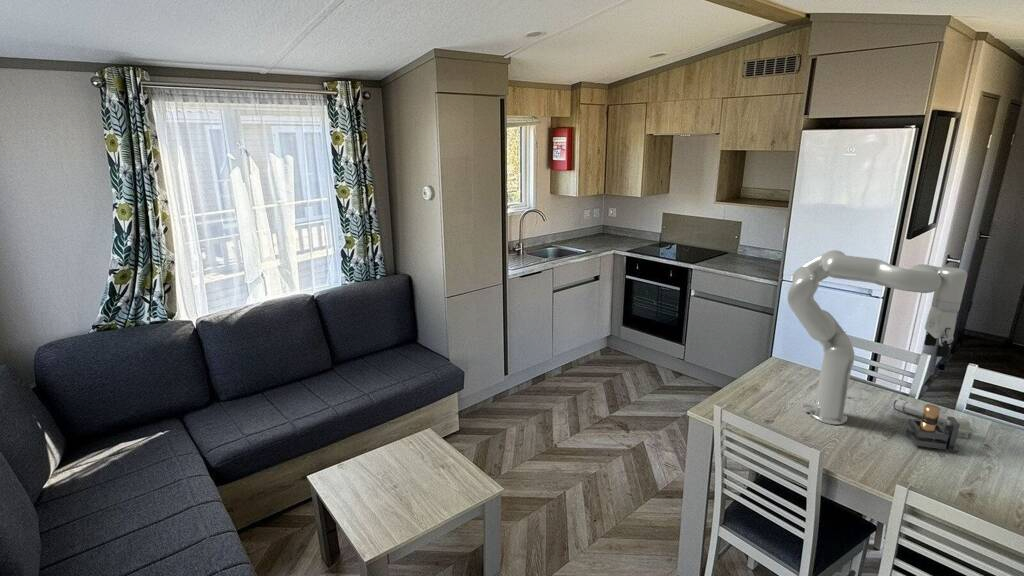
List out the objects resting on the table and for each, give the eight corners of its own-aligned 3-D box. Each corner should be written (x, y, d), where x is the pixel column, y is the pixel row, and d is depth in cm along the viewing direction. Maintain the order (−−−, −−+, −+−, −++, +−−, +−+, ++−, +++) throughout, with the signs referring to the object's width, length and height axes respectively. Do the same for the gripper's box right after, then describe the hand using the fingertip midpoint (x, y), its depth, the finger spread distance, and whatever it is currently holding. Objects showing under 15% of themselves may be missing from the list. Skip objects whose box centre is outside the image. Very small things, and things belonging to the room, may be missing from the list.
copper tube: (919, 445, 189) (927, 409, 184) (914, 438, 193) (922, 403, 188) (934, 447, 187) (942, 411, 183) (929, 440, 191) (937, 405, 187)
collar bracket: (905, 434, 195) (910, 409, 192) (947, 439, 191) (953, 414, 188) (914, 447, 187) (920, 422, 184) (958, 453, 183) (965, 427, 180)
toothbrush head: (899, 397, 213) (976, 418, 191) (899, 413, 214) (975, 435, 192) (892, 401, 211) (969, 422, 189) (891, 416, 212) (968, 440, 190)
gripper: (922, 295, 191) (913, 340, 196) (943, 311, 175) (932, 360, 180) (947, 297, 188) (937, 342, 193) (971, 313, 173) (959, 362, 178)
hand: (935, 350), depth 187 cm, fingers open, 9 cm apart
